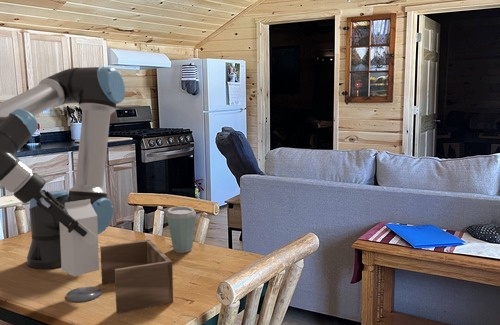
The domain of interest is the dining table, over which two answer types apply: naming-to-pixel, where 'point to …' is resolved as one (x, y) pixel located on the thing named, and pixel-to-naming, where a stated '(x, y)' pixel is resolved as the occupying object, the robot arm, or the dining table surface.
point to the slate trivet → (83, 294)
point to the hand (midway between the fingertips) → (91, 237)
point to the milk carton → (79, 240)
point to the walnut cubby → (137, 274)
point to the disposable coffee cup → (181, 227)
